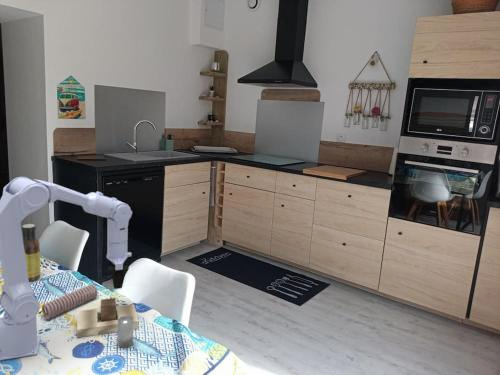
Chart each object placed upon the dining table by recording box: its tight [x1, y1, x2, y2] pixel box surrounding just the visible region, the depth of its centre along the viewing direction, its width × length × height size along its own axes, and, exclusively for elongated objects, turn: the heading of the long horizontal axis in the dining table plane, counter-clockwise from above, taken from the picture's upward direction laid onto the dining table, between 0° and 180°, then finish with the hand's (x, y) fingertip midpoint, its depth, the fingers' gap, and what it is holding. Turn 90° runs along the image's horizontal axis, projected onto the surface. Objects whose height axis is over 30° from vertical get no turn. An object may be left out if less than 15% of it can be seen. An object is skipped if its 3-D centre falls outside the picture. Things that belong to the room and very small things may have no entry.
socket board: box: [76, 303, 139, 339], centre depth 110 cm, size 16×10×2 cm, turn 113°
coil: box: [41, 283, 98, 321], centre depth 118 cm, size 5×5×18 cm
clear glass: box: [116, 316, 134, 349], centre depth 102 cm, size 4×4×7 cm
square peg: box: [100, 297, 117, 322], centre depth 110 cm, size 4×4×7 cm
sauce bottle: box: [21, 223, 41, 282], centre depth 132 cm, size 6×6×20 cm
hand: (117, 282), depth 115 cm, fingers open, 7 cm apart
